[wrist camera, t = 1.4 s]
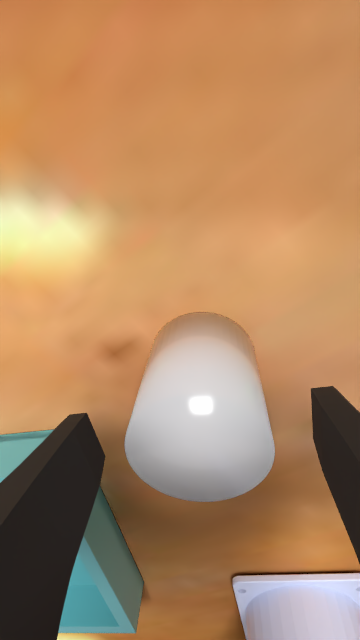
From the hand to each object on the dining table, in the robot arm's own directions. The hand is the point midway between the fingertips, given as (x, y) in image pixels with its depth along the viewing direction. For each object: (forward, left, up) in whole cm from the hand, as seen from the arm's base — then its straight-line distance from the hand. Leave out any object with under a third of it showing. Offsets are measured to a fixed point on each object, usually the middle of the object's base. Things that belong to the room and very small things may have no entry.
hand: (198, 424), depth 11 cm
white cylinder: (0, 0, -4) cm, 4 cm away
